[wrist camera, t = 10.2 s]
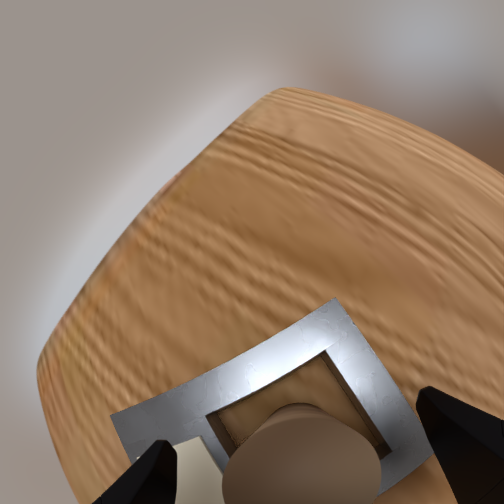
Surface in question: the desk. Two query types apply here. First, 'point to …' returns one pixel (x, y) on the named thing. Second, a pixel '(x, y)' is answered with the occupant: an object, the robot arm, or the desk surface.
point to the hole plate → (260, 377)
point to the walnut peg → (302, 462)
